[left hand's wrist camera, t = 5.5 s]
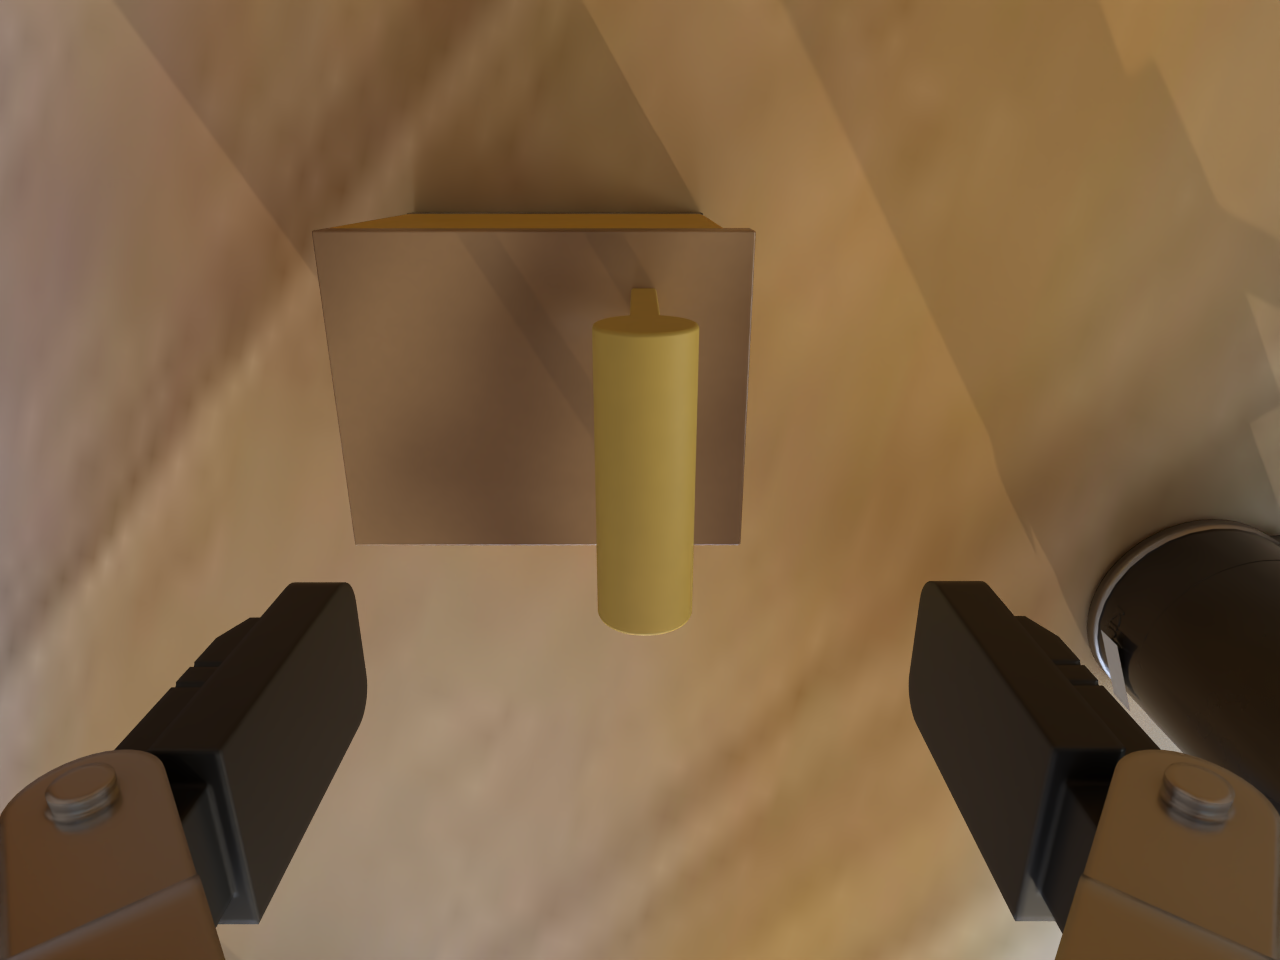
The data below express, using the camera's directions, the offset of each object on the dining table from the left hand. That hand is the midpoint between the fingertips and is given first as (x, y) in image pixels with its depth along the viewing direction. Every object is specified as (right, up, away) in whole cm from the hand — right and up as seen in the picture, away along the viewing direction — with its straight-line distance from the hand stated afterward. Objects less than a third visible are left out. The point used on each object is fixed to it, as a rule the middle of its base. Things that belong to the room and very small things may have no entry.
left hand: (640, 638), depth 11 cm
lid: (-3, +5, +13) cm, 14 cm away
